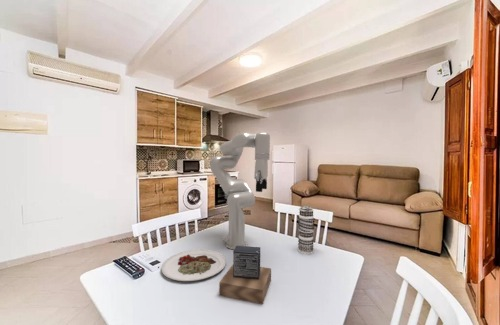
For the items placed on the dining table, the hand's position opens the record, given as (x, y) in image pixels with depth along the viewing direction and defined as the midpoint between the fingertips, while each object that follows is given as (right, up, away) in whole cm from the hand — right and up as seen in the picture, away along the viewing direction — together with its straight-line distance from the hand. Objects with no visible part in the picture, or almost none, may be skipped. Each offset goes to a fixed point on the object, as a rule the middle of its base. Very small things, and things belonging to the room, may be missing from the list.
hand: (261, 190), depth 111 cm
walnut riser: (-7, -36, -24) cm, 44 cm away
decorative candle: (+26, -36, +12) cm, 46 cm away
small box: (-7, -32, -23) cm, 40 cm away
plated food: (-33, -36, -7) cm, 49 cm away
